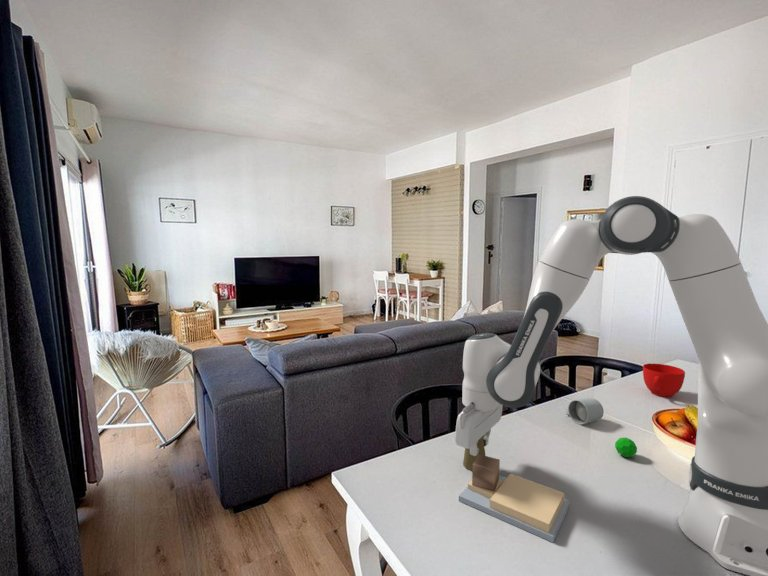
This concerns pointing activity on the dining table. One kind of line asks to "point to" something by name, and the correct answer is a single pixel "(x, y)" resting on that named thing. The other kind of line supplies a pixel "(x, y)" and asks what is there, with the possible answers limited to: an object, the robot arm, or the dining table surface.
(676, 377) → the red bowl
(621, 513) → the dining table surface
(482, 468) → the walnut cube
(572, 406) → the ceramic mug
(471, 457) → the olive pawn
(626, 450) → the polyhedron
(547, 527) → the base board
